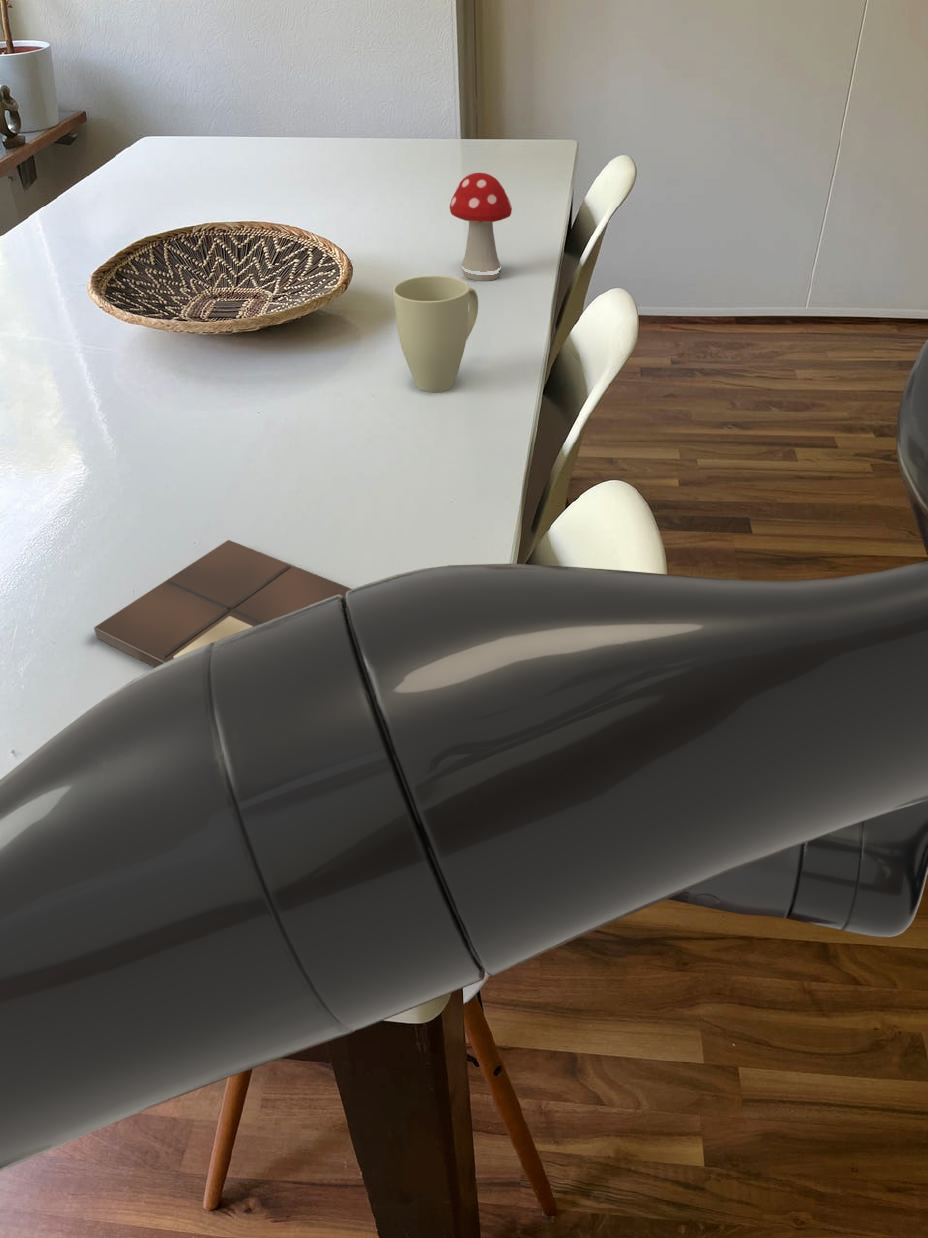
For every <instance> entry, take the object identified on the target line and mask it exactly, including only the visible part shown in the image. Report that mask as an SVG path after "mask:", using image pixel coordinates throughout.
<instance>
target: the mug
mask: <svg viewBox="0 0 928 1238" xmlns="http://www.w3.org/2000/svg"><path fill="white" fill-rule="evenodd" d="M392 294H393V295H392V296H393V304H394V309H395V311H394V312H395V318H396V326H397V332H398V338H399V343H400V347H401V350H402V354H403V356H404V358H405V359H404V360H405V361H406V364H407V367H408V370H409V371H410V375H411V377H412V380H413V382H414V385H415V387H416V388H417V389H418V390H420V391H422V392H427V393H441V392H445V391H448V390H450V389H453V387H454V386H455V383H456V380H457V377H458V373H459V370H460V366H461V363H462V359H463V357H464V352H465V348H466V344H467V340H468V339H469V337H470V335H471V333H472V331H473V329H474V326H475V324H476V322H477V318H478V313H479V297H478V293H477V291H476V290H475V289H474V288H473V287H471V286H469V284H468V283H467V282H466V281H464V280H462V279H460V278H457V277H452V276H445V275H424V276H423V275H422V276H415V277H410V278H407V279H404V280H402V281H400V282H398V283H396V284H395V285H394V287H393V288H392Z"/></svg>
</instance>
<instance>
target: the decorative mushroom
mask: <svg viewBox="0 0 928 1238" xmlns="http://www.w3.org/2000/svg"><path fill="white" fill-rule="evenodd" d="M512 211H513V208H512V203H511V200H510V198H509V197H508V195H507V193H506V191H505V188H504V187H503V185H502V184H501V182H500V181H499V180H498V179H497V178H496V177H494V176H493V175H491V174H489V173H486V172H473V173H471V174H468V175H466V176H465V177H464V178H462V179H461V180H460V182H459V183H458V185H457V187H456V189H455V191H454V194H453V196H452V198H451V199H450V204H449V212H450V214H451V215H452V216H453V217H455V218H458V219H460V220H463V221H466V222H468V232H467V239H466V246H465V252H464V257H463V260H462V263H461V265H462V266H463V267H464V268H465V269H468V270H471V271H480V272H487V271H495V270H497V269H498V268H500V266H501V267H502V265H501V263H500V260H499V257H498V253H497V247H496V239H495V233H494V223H495V222H499V221H503V220H505V219H508V218H510V217H511V215H512ZM461 270H462V272H463V275H464V277H466V278H467V279H469V280H473V281H478V282H490V281H491V282H492V281H495V280H497V279H499V277H500V275H501V271H500V272H499V273H497V274H494V275H476V274H471V273H468V272H465V271H464V270H463V269H462V268H461Z"/></svg>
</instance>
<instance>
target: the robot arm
mask: <svg viewBox="0 0 928 1238" xmlns="http://www.w3.org/2000/svg"><path fill="white" fill-rule="evenodd" d="M912 365H913V366H912V368H911V370H910V372H909V374H908V376H907V378H906V380H905V384H904V387H903V390H902V393H901V398H900V401H899V406H898V411H897V420H896V428H895V429H896V430H895V431H896V432H895V448H896V449H895V451H896V457H897V464H898V470H899V474H900V475H899V476H900V478H901V482H902V486H903V489H904V493H905V496H906V498H907V501H908V505H909V507H910V510H911V513H912V517H913V520H914V523H915V525H916V528H917V530H918V535H919V536H920V539H921V541H922V544H923V547H924V550H925V553H926V557H928V338H927V339H926V340H925V342H924V344H923V345H922V347H921V348H920V350H919V352H918V355H917V356H916V359H915V360H914V364H912ZM345 596H346V599H345V598H344V597H343V596H341V595H339V594H338V595H336V596H333V597H330V598H328V599H325V600H322V601H320V602H317V603H315V604H312V605H309V606H307V607H304V608H301V609H299V610H296V611H293V612H291V613H288V614H286V615H283V616H280V617H278V618H275V619H272V620H270V621H267V622H264V623H262V624H259V625H257V626H254V627H251V628H249V629H246V630H243V631H241V632H238V633H235V634H233V635H230V636H228V637H225V638H222V639H220V640H219V641H215V642H212V643H210V644H207V645H205V646H202V647H200V648H197V649H195V650H192V651H190V652H187V653H185V654H183V655H181V656H179V657H177V658H174V659H172V660H170V661H168V662H166V663H164V664H161V665H159V666H158V667H153V668H151V669H150V670H148V671H147V672H145V673H143V674H141V675H139V676H137V677H135V678H134V679H132V680H130V681H129V682H127V683H126V684H124V685H123V686H121V687H119V688H118V689H116V690H115V691H112V693H111V694H109V695H107V696H106V697H105V698H103V699H102V700H100V701H99V702H98V703H96V704H95V705H94V706H92V707H91V708H89V709H88V710H87V711H85V712H84V713H82V714H81V715H80V716H79V717H78V718H75V720H74V721H72V722H71V723H69V724H68V725H67V726H65V727H64V728H63V729H62V730H60V731H59V732H58V733H56V735H54V736H53V737H52V738H50V739H49V740H48V741H46V742H45V743H44V744H43V745H41V746H40V747H39V748H38V749H36V750H35V751H34V752H33V753H32V754H30V755H29V756H28V757H26V758H25V759H24V760H23V761H22V762H20V764H18V765H17V766H15V767H14V768H12V770H10V771H9V772H7V774H5V775H4V776H3V777H2V778H1V779H0V1173H1V1172H4V1171H6V1170H8V1169H10V1168H12V1167H14V1166H16V1165H19V1164H21V1163H24V1162H26V1161H28V1160H31V1159H34V1158H35V1157H38V1156H42V1155H43V1154H45V1153H48V1152H50V1151H53V1150H55V1149H57V1148H60V1147H62V1146H64V1145H67V1144H69V1143H72V1142H73V1141H76V1140H78V1139H80V1138H81V1139H82V1138H83V1137H85V1136H88V1135H91V1134H93V1133H95V1132H97V1131H100V1130H102V1129H105V1128H106V1127H109V1126H112V1125H114V1124H116V1123H119V1122H121V1121H123V1120H124V1121H125V1120H126V1119H128V1118H130V1117H133V1116H135V1115H137V1114H140V1113H142V1112H146V1111H147V1110H150V1109H152V1108H155V1107H157V1106H160V1105H162V1104H164V1103H168V1102H170V1101H173V1100H175V1099H178V1098H181V1097H183V1096H185V1095H188V1094H190V1093H192V1092H196V1091H198V1090H200V1089H202V1088H206V1087H209V1086H211V1085H214V1084H216V1083H218V1082H221V1081H223V1080H225V1079H229V1078H232V1077H233V1076H237V1075H239V1074H242V1073H245V1072H248V1071H250V1070H253V1069H256V1068H259V1067H260V1066H264V1065H267V1064H269V1063H271V1062H274V1061H277V1060H280V1059H284V1058H286V1057H288V1056H291V1055H294V1054H297V1053H300V1052H303V1051H305V1050H309V1049H311V1048H314V1047H316V1046H320V1045H323V1044H326V1043H328V1042H331V1041H333V1040H336V1039H339V1038H342V1037H345V1036H347V1035H351V1034H353V1033H355V1031H360V1030H363V1029H365V1028H368V1027H370V1026H373V1025H376V1024H377V1023H381V1022H382V1021H385V1020H387V1019H391V1018H393V1017H395V1016H397V1015H400V1014H403V1013H405V1012H407V1011H410V1010H413V1009H415V1008H418V1007H420V1006H422V1005H425V1004H427V1003H430V1002H432V1001H435V1000H437V999H440V998H443V997H444V996H447V995H449V994H452V993H454V992H457V991H460V990H462V989H464V988H467V987H470V986H471V985H474V984H477V983H479V982H481V981H484V979H485V977H486V975H488V976H490V977H494V976H496V975H499V974H501V973H503V972H505V971H507V970H509V969H511V968H514V967H516V966H519V965H521V964H523V963H525V962H528V961H530V960H532V959H534V958H536V957H539V956H541V955H543V954H545V953H548V952H549V951H552V950H555V949H556V948H559V947H561V946H563V945H565V944H568V943H570V942H572V941H574V940H577V939H579V938H581V937H583V936H586V935H588V934H590V933H592V932H594V931H597V930H599V929H601V928H604V927H606V926H608V925H610V924H612V923H615V922H617V921H619V920H621V919H624V918H627V917H629V916H630V915H633V914H635V913H637V912H640V911H642V910H644V909H647V908H649V907H651V906H654V905H656V904H658V903H661V902H663V901H665V900H669V901H673V902H679V903H682V904H683V903H684V904H688V905H692V906H693V905H694V906H699V907H702V908H707V909H711V910H715V911H717V910H718V911H720V912H721V911H722V912H725V913H726V912H727V913H731V914H738V915H746V916H760V917H772V918H777V919H778V918H779V919H784V918H786V919H787V920H791V921H796V922H800V923H805V924H810V925H814V926H815V925H816V926H820V927H823V928H824V927H825V928H829V929H834V930H839V931H840V930H841V931H842V932H847V933H852V934H857V935H861V936H868V937H873V938H892V937H897V936H899V935H901V934H903V933H904V932H905V931H906V930H907V929H908V928H909V927H910V926H911V924H912V923H913V921H914V919H915V917H916V914H917V912H918V908H919V906H920V903H921V901H922V897H923V893H924V889H925V885H926V881H927V877H928V560H925V561H921V562H916V563H911V564H907V565H902V566H899V567H895V568H889V569H885V570H881V571H874V572H873V571H872V572H866V573H859V574H853V575H847V576H846V575H845V576H839V577H838V576H837V577H832V578H829V577H828V578H813V579H791V580H789V579H788V580H758V579H736V578H719V577H718V578H717V577H703V576H692V575H679V574H669V573H657V572H645V571H643V572H642V571H635V570H634V571H632V570H620V569H607V568H593V567H579V566H563V565H545V564H528V563H479V564H476V563H475V564H450V565H441V566H433V567H425V568H418V569H414V570H410V571H405V572H402V573H398V574H394V575H391V576H388V577H384V578H381V579H378V580H375V581H371V582H368V583H366V584H363V585H360V586H357V587H355V588H351V590H349V591H347V592H346V595H345Z"/></svg>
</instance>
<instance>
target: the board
mask: <svg viewBox="0 0 928 1238" xmlns="http://www.w3.org/2000/svg"><path fill="white" fill-rule="evenodd" d="M351 589H352V588H351V587H348V586H346V585H343V584H341V583H338V582H336V581H333V580H330V579H329V578H326V577H323V576H321V575H318V574H316V573H314V572H311V571H308V570H305V569H303V568H300V567H298V566H295V565H293V564H291V563H289V562H285V561H283V560H280V559H278V558H275V557H273V556H270V555H268V554H266V553H264V552H260V551H258V550H255V549H253V548H251V547H248V546H245V545H242V544H240V543H237V542H235V541H233V540H230V539H228V540H225V541H224V542H223V543H221V544H219V545H218V546H217V547H215V548H214V549H212V550H210V551H208V553H206V554H204V555H203V556H202V557H199V558H198V559H197V560H195V561H194V562H192V563H191V564H189V565H187V566H186V567H185V568H183V569H182V570H180V571H178V572H177V573H175V574H173V575H172V576H171V577H169V578H167V579H166V580H165V581H163V582H162V583H159V584H158V585H157V586H155V587H153V588H152V589H151V590H149V591H147V592H146V593H145V594H143V595H141V596H140V597H139V598H137V599H135V600H134V601H132V602H131V603H129V604H128V605H126V606H125V607H123V608H121V609H120V610H119V611H117V612H116V613H114V614H112V615H110V616H109V617H108V618H106V619H105V620H103V621H102V622H99V624H97V625H95V626H94V627H93V629H94V633H95V635H96V638H97V639H98V640H99V641H102V642H104V643H106V644H108V645H109V646H112V647H114V648H115V649H118V650H120V651H122V652H124V653H125V654H128V655H129V656H132V657H133V658H135V659H138V660H140V661H141V662H143V663H145V664H148V665H149V666H151V667H153V668H156V667H158V666H159V665H161V664H164V663H166V662H168V661H170V660H172V659H174V658H177V657H179V656H181V655H183V654H185V653H187V652H190V651H192V650H195V649H197V648H200V647H202V646H205V645H207V644H210V643H212V642H215V641H219V640H220V639H222V638H225V637H228V636H230V635H233V634H235V633H238V632H241V631H243V630H246V629H249V628H251V627H254V626H257V625H259V624H262V623H264V622H267V621H270V620H272V619H275V618H278V617H280V616H283V615H286V614H288V613H291V612H293V611H296V610H299V609H301V608H304V607H307V606H309V605H312V604H315V603H317V602H320V601H322V600H325V599H328V598H330V597H333V596H336V595H338V594H339V595H341V596H343V597H344V598H345V599H346V596H345V595H346V592H347V591H349V590H351Z"/></svg>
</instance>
